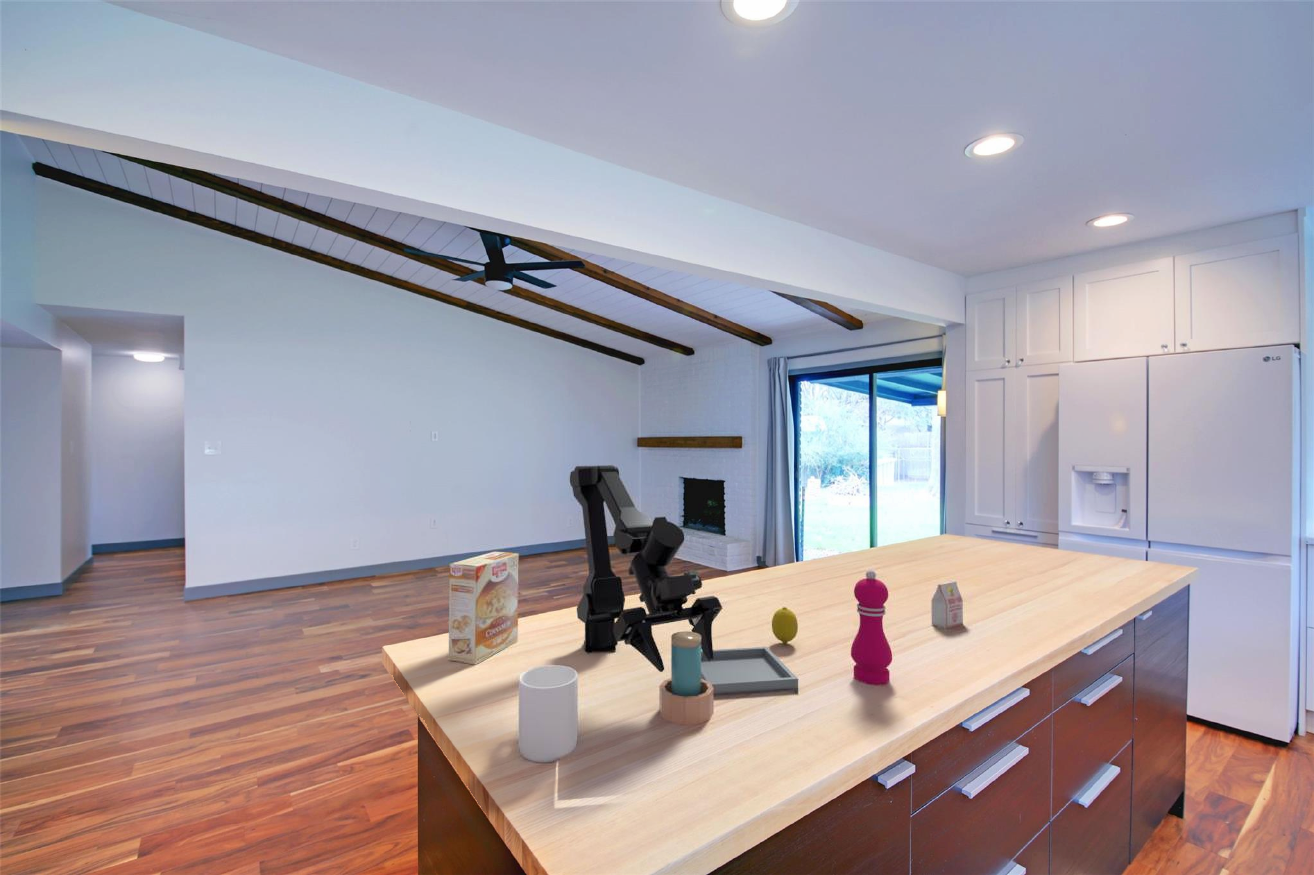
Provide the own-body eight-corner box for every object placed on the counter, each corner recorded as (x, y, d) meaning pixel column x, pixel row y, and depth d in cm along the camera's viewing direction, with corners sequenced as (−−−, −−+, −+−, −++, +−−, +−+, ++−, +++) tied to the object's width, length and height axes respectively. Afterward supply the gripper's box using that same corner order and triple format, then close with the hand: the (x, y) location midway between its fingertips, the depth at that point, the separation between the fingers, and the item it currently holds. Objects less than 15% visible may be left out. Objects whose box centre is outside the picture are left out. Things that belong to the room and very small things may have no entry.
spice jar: (674, 719, 89) (674, 642, 89) (668, 705, 94) (668, 632, 94) (704, 717, 90) (704, 640, 90) (697, 703, 94) (697, 630, 95)
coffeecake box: (476, 665, 112) (476, 565, 113) (446, 660, 115) (447, 563, 115) (519, 641, 126) (520, 552, 127) (492, 637, 129) (493, 550, 129)
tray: (709, 699, 97) (709, 684, 97) (689, 663, 113) (689, 651, 113) (798, 693, 100) (798, 678, 100) (766, 659, 116) (766, 646, 116)
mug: (498, 735, 85) (499, 665, 86) (549, 718, 90) (549, 653, 91) (534, 771, 76) (534, 693, 76) (588, 751, 81) (588, 677, 81)
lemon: (798, 649, 121) (798, 611, 122) (771, 647, 123) (771, 609, 123) (797, 640, 127) (797, 604, 127) (771, 638, 128) (771, 602, 128)
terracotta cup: (664, 730, 87) (664, 700, 87) (656, 705, 95) (656, 678, 95) (718, 725, 88) (718, 696, 88) (705, 701, 97) (705, 674, 97)
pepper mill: (891, 673, 109) (890, 567, 109) (893, 688, 102) (893, 575, 102) (851, 668, 111) (850, 565, 111) (850, 683, 104) (850, 572, 104)
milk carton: (931, 624, 138) (931, 583, 138) (948, 620, 142) (948, 579, 142) (946, 628, 135) (945, 586, 135) (962, 624, 139) (962, 582, 139)
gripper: (620, 560, 92) (653, 650, 82) (716, 549, 101) (756, 630, 91) (600, 598, 99) (629, 685, 89) (692, 585, 108) (727, 663, 98)
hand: (687, 665), depth 91 cm, fingers open, 9 cm apart
